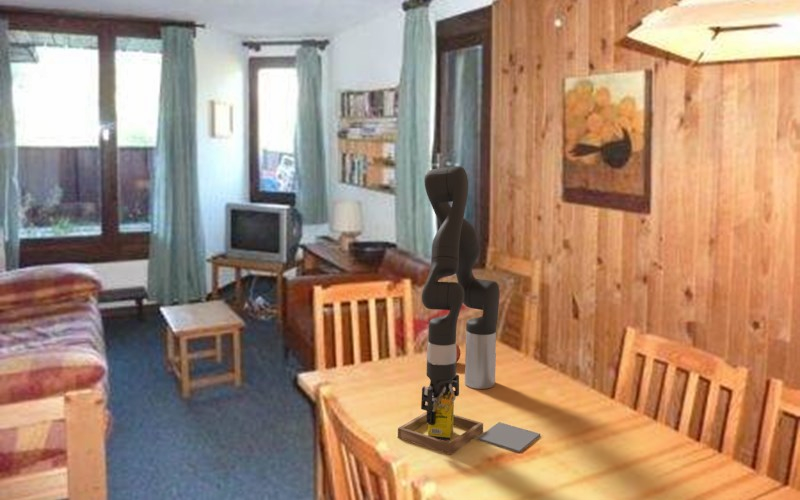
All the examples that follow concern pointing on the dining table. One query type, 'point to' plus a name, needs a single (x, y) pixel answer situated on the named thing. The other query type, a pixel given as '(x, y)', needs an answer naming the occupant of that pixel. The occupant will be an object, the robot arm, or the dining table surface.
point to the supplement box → (443, 418)
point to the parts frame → (437, 444)
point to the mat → (508, 437)
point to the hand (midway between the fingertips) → (440, 418)
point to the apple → (457, 353)
